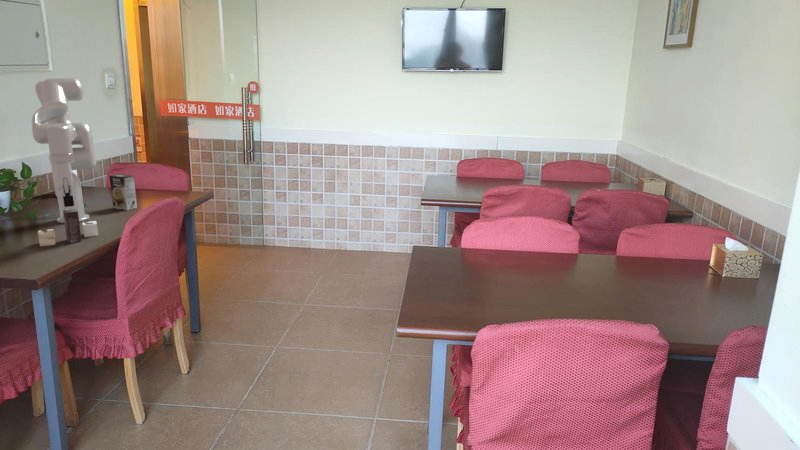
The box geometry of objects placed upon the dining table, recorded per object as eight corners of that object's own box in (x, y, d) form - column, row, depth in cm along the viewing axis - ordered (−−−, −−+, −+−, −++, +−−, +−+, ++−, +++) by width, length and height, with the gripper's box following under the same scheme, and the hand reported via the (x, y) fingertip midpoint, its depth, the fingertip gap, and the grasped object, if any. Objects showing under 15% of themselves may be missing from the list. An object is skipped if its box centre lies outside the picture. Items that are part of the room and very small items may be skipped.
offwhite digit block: (84, 234, 234) (82, 221, 233) (97, 232, 237) (96, 220, 235) (84, 237, 230) (82, 224, 229) (98, 235, 233) (96, 223, 231)
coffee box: (112, 208, 276) (108, 175, 272) (123, 206, 282) (119, 173, 277) (127, 210, 273) (123, 176, 268) (137, 207, 278) (134, 174, 274)
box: (82, 241, 225) (78, 211, 222) (69, 243, 222) (65, 213, 219) (79, 237, 229) (74, 208, 226) (66, 239, 226) (61, 210, 223)
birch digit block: (40, 243, 222) (38, 229, 221) (55, 241, 225) (53, 228, 223) (40, 246, 218) (37, 233, 217) (55, 244, 220) (53, 231, 219)
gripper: (51, 156, 222) (58, 203, 226) (50, 161, 209) (57, 211, 214) (73, 155, 225) (80, 201, 230) (73, 160, 212) (80, 208, 217)
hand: (69, 205), depth 222 cm, fingers closed
